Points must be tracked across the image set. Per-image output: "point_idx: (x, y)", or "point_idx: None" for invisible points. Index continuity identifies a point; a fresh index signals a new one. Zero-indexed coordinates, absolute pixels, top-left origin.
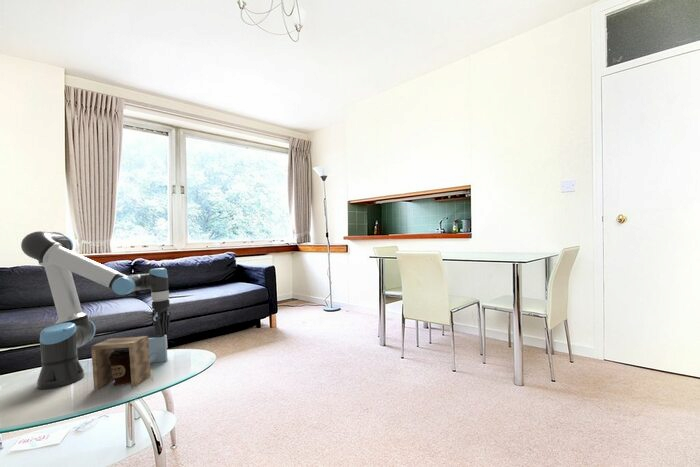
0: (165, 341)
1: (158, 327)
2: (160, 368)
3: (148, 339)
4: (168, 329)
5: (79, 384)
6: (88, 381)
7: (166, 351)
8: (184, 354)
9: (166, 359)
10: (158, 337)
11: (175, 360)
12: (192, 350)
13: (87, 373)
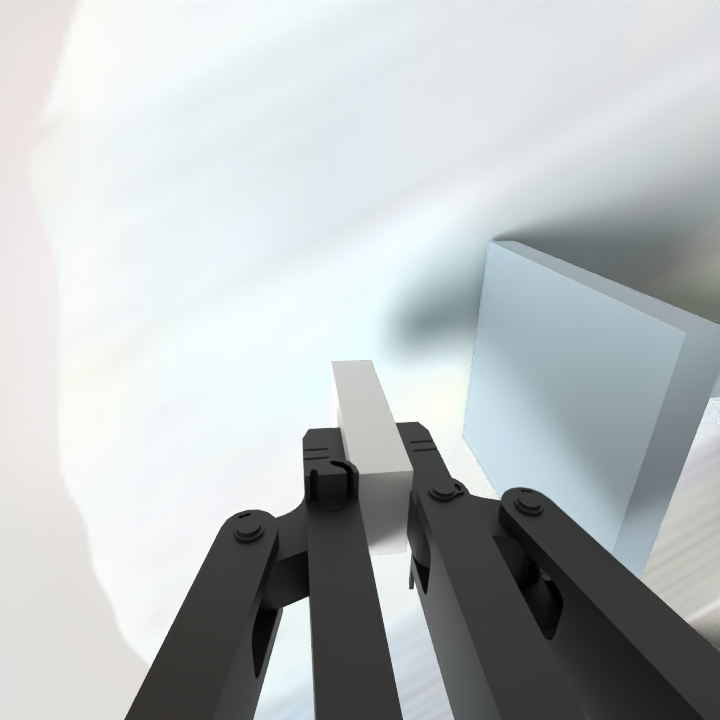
0: (651, 304)
1: (708, 667)
2: (672, 204)
3: (636, 567)
4: (248, 549)
5: (710, 588)
6: (684, 575)
7: (548, 263)
8: (265, 150)
9: (514, 244)
10: (643, 465)
11: (473, 159)
12: (97, 107)
13: None
